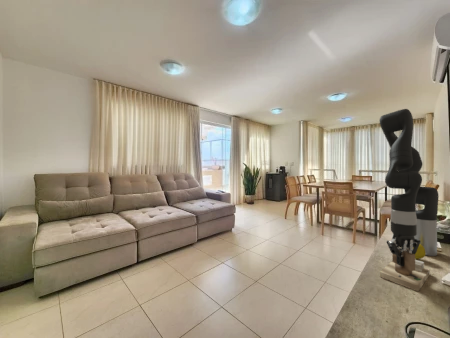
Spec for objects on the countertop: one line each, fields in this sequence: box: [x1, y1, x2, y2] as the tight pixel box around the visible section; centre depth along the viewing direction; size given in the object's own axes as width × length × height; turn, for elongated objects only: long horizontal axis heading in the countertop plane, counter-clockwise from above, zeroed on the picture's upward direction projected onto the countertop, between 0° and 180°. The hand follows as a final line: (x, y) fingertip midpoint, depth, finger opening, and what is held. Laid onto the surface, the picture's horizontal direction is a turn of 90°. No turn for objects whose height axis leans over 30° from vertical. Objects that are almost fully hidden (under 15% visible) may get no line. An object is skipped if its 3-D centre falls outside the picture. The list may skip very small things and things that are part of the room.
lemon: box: [413, 244, 426, 260], centre depth 89 cm, size 6×6×8 cm
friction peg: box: [391, 250, 418, 279], centre depth 75 cm, size 8×5×8 cm, turn 5°
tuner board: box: [379, 259, 431, 292], centre depth 77 cm, size 18×11×4 cm, turn 124°
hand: (403, 264), depth 75 cm, fingers closed on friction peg, 2 cm apart
